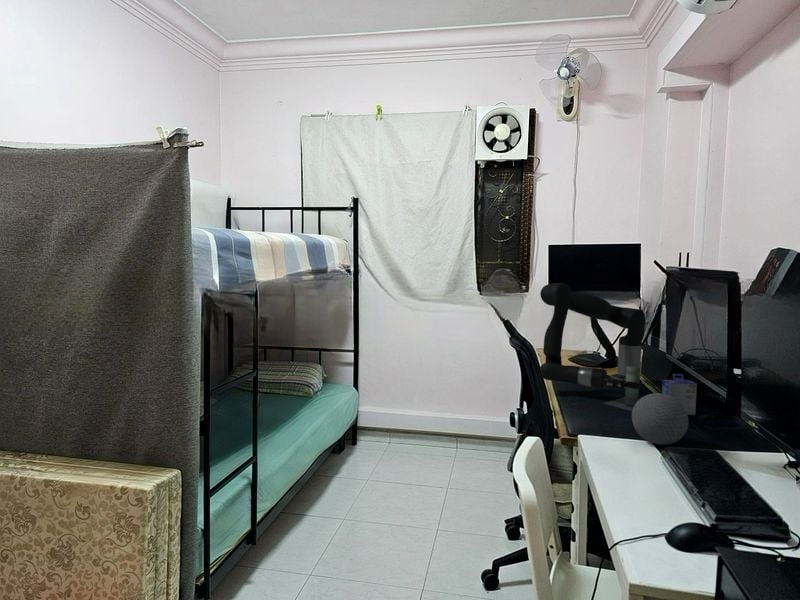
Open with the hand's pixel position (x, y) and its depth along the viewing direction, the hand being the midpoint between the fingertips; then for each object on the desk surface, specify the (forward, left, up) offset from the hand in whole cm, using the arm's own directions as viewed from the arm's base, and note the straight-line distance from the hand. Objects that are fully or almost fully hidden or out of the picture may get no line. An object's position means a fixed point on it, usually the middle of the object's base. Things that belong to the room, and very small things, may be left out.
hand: (640, 384), depth 183 cm
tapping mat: (+1, -3, -9) cm, 9 cm away
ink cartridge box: (-5, +11, -9) cm, 16 cm away
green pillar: (+1, -3, -8) cm, 8 cm away
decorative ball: (+28, +22, -9) cm, 37 cm away
